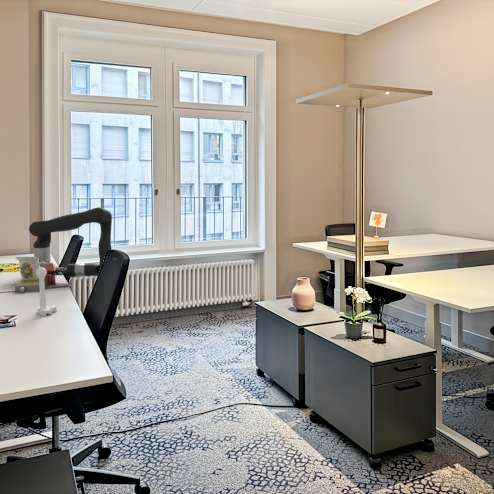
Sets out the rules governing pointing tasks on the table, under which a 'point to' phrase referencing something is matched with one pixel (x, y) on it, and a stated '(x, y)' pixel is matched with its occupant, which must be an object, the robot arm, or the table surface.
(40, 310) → the joystick
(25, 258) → the pitcher
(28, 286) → the grey tray
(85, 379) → the table surface
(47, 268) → the spout can
